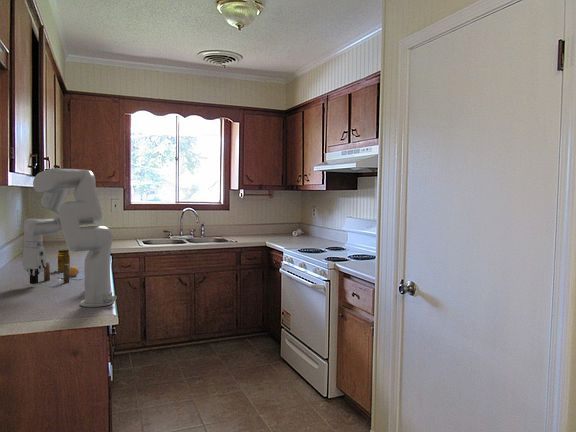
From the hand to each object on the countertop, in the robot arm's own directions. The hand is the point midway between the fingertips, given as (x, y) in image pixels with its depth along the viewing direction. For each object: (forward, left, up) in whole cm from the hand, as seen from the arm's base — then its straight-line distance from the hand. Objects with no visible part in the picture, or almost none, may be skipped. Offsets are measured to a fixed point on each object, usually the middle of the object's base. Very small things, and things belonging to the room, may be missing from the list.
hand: (34, 283), depth 209 cm
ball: (+2, -26, +1) cm, 26 cm away
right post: (-6, -13, -2) cm, 15 cm away
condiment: (+20, -38, -2) cm, 43 cm away
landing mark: (0, -27, -2) cm, 27 cm away
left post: (+6, -13, -2) cm, 15 cm away
